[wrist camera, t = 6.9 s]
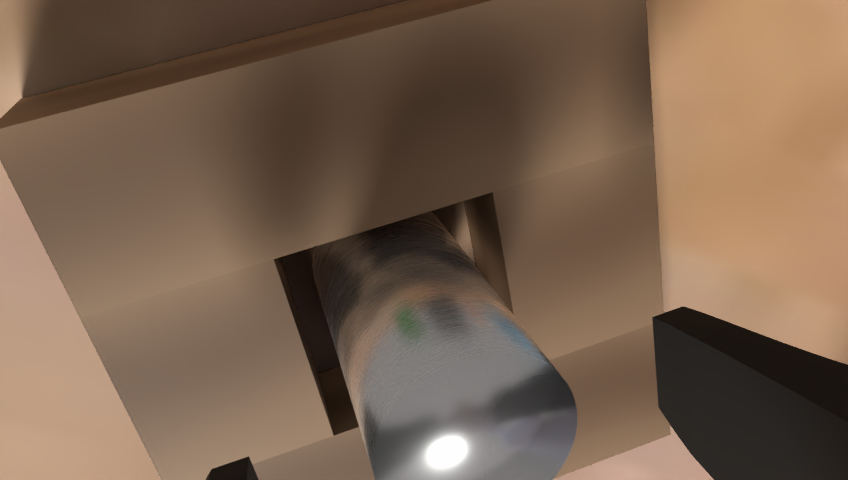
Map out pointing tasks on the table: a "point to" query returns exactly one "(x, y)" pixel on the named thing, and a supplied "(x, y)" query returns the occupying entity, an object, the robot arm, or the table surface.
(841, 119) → the table surface
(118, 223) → the socket block
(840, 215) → the table surface
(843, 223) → the table surface
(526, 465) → the long pin
